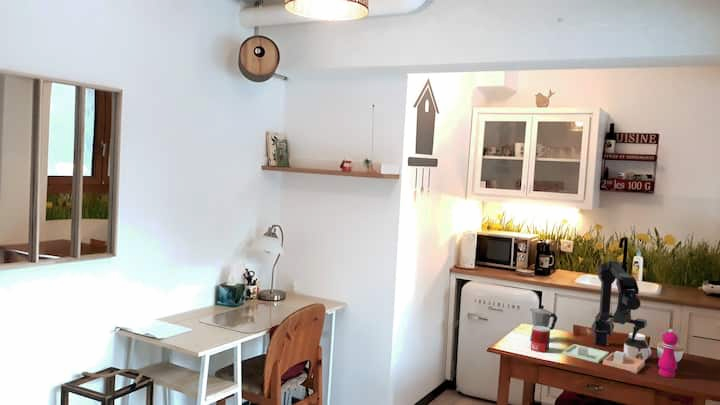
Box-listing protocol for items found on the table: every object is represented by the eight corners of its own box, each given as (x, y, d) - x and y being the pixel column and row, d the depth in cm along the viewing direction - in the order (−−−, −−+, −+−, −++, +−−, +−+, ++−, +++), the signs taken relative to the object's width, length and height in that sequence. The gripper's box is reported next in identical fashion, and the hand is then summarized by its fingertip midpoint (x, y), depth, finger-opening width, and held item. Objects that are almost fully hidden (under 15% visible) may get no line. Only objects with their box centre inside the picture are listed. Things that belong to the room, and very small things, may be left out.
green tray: (573, 347, 287) (574, 344, 287) (608, 355, 278) (608, 352, 277) (562, 355, 275) (562, 351, 275) (597, 364, 265) (598, 360, 265)
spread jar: (623, 360, 272) (625, 335, 271) (622, 353, 283) (624, 329, 282) (652, 365, 268) (655, 339, 267) (649, 357, 279) (652, 333, 278)
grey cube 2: (578, 354, 276) (579, 345, 275) (587, 356, 274) (588, 347, 274) (577, 356, 272) (578, 348, 272) (586, 358, 270) (587, 349, 270)
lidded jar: (679, 360, 277) (681, 340, 276) (684, 367, 267) (686, 347, 266) (654, 356, 280) (656, 337, 280) (657, 363, 270) (659, 343, 270)
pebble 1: (615, 359, 271) (616, 350, 271) (625, 361, 269) (625, 352, 268) (613, 361, 268) (614, 352, 268) (622, 363, 266) (623, 355, 265)
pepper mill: (653, 371, 259) (658, 326, 258) (669, 371, 260) (674, 326, 258) (663, 377, 252) (668, 331, 251) (679, 378, 253) (684, 331, 251)
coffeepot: (522, 338, 298) (525, 303, 296) (534, 336, 303) (536, 301, 302) (548, 347, 285) (551, 310, 284) (560, 344, 291) (563, 308, 290)
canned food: (549, 354, 275) (551, 331, 274) (531, 352, 277) (533, 329, 276) (547, 349, 282) (549, 326, 282) (529, 347, 284) (531, 324, 283)
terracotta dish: (611, 358, 275) (612, 352, 275) (644, 365, 266) (644, 360, 266) (602, 365, 264) (603, 359, 264) (636, 373, 255) (636, 368, 255)
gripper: (597, 303, 266) (594, 337, 267) (642, 311, 254) (639, 347, 255) (604, 299, 274) (602, 332, 276) (648, 307, 263) (645, 342, 264)
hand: (621, 338), depth 267 cm, fingers open, 9 cm apart
